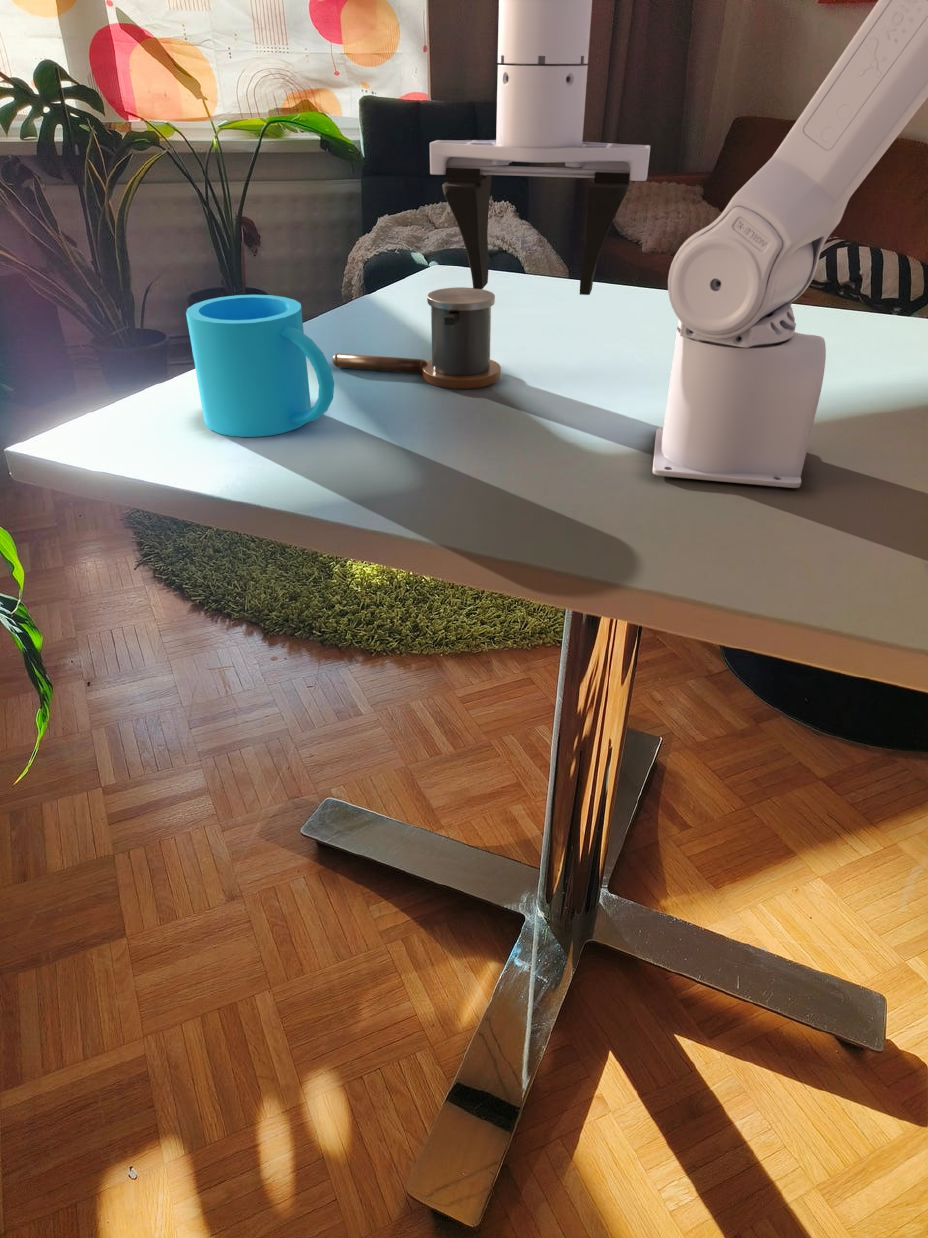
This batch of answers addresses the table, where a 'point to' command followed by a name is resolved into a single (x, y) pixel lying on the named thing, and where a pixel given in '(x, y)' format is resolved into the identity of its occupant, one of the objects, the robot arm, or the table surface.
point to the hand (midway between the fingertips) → (532, 288)
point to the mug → (255, 365)
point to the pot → (461, 330)
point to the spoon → (418, 370)
